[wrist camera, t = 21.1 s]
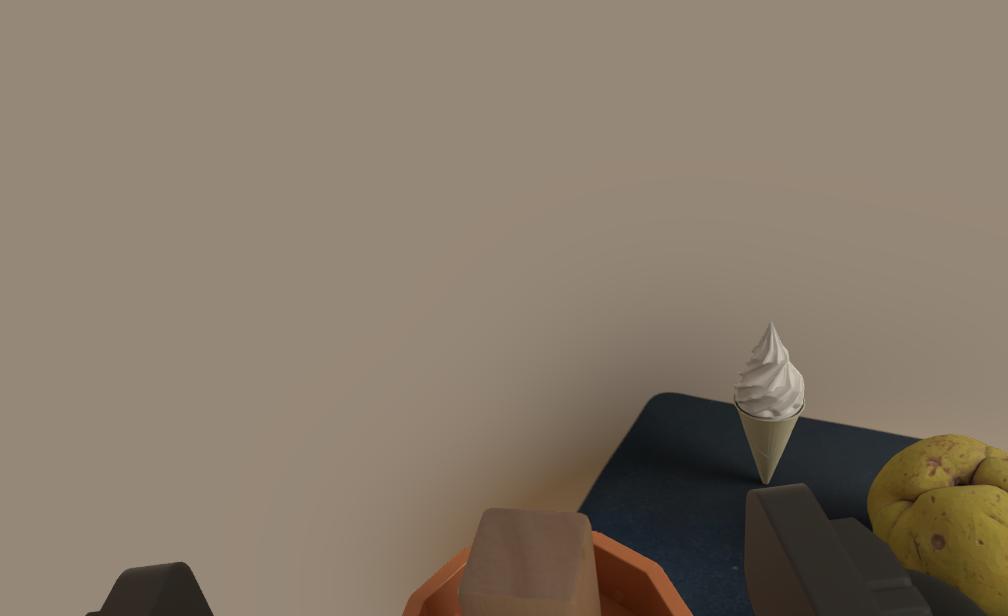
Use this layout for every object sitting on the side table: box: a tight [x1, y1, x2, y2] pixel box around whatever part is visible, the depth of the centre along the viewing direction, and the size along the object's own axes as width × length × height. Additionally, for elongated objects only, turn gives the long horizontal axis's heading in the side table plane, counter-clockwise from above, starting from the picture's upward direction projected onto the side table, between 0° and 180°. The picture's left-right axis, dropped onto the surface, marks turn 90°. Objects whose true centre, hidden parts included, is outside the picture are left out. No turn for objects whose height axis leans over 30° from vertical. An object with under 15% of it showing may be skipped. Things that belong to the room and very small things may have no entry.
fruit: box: [867, 434, 1008, 616], centre depth 45 cm, size 11×12×10 cm
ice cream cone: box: [733, 322, 805, 484], centre depth 54 cm, size 5×5×15 cm
